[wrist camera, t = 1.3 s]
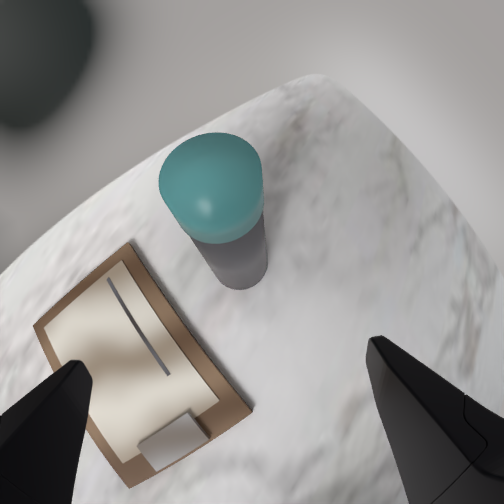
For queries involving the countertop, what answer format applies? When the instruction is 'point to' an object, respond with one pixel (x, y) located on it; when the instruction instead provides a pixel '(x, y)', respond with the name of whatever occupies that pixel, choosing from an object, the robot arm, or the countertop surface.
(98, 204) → the countertop surface
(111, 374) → the clipboard
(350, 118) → the countertop surface
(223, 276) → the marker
